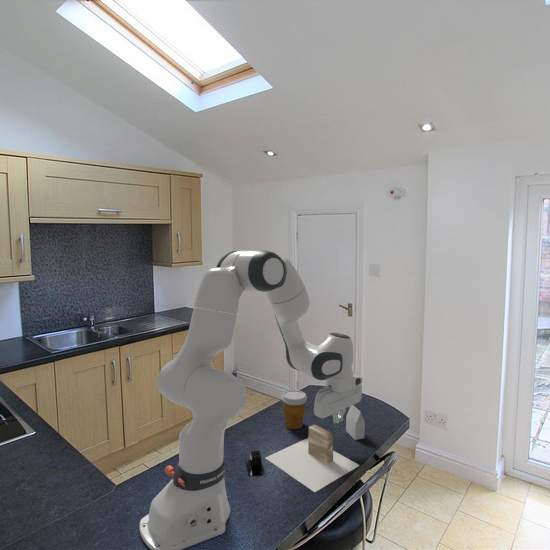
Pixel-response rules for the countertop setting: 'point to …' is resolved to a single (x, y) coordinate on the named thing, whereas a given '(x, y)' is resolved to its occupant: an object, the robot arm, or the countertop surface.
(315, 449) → the letter block
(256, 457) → the black mounting plate
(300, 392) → the disposable coffee cup
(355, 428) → the grey angular block
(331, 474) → the felt mat
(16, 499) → the countertop surface
